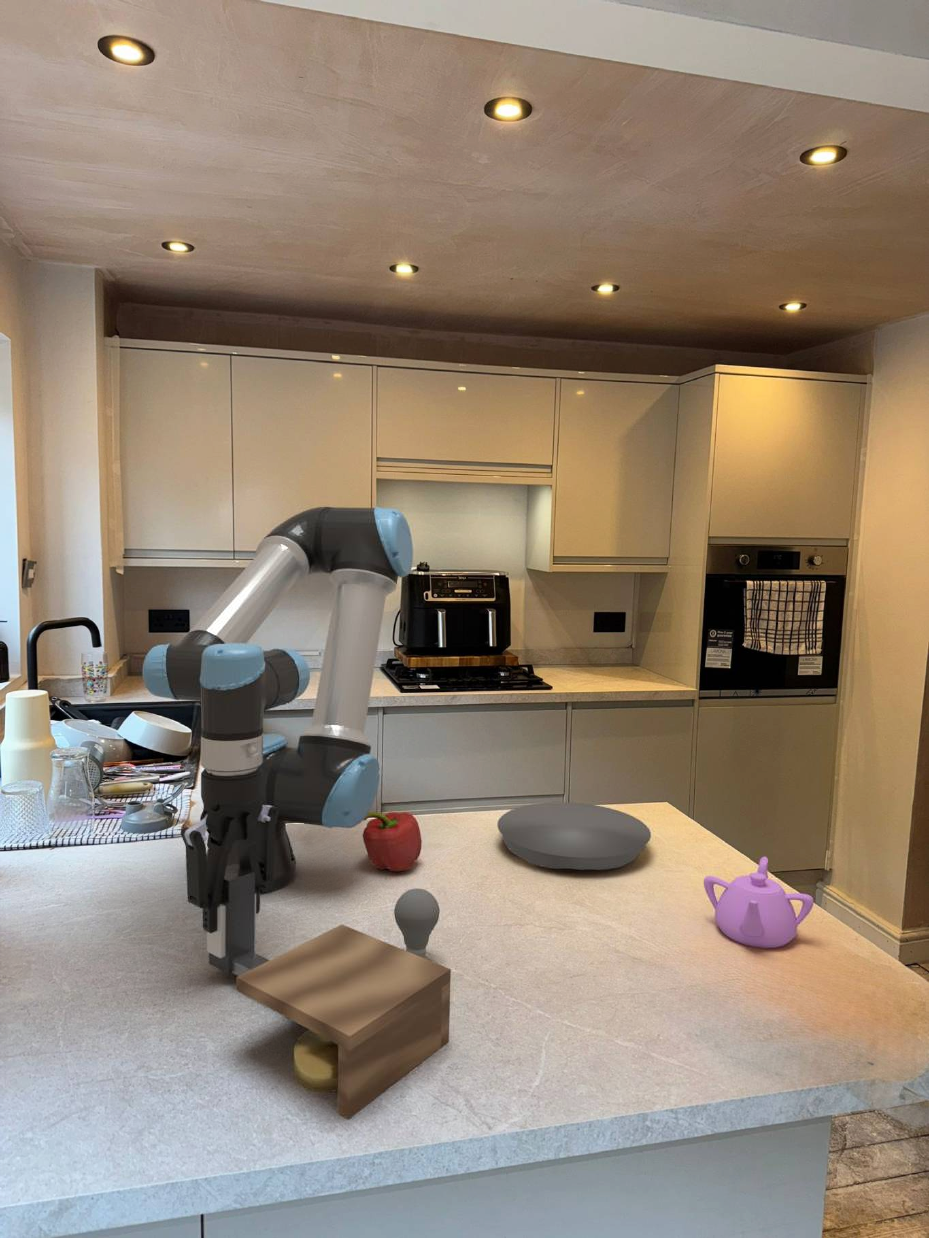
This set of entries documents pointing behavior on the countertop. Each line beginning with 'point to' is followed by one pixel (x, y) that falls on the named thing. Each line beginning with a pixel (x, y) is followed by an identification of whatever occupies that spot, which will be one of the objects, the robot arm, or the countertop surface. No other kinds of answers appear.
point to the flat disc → (573, 835)
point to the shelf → (359, 1006)
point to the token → (316, 1062)
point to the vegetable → (392, 840)
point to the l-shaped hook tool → (238, 922)
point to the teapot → (757, 909)
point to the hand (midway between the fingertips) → (231, 946)
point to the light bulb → (416, 919)
